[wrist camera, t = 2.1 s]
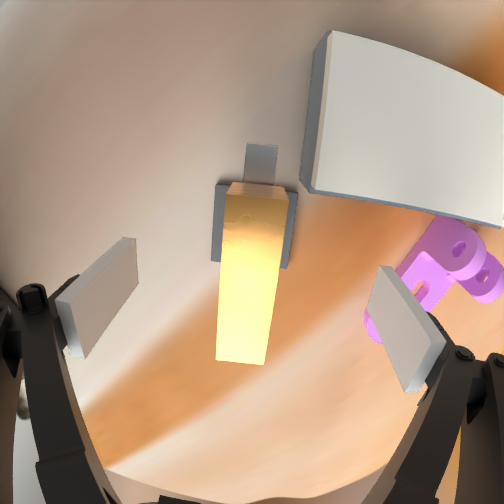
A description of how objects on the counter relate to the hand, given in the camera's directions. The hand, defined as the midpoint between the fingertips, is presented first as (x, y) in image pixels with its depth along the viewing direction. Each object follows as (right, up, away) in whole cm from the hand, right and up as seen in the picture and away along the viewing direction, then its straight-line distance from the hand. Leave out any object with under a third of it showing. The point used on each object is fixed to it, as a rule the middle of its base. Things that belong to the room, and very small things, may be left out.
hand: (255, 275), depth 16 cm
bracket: (+15, -1, +10) cm, 18 cm away
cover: (+12, +8, 0) cm, 14 cm away
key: (0, +4, +7) cm, 8 cm away
